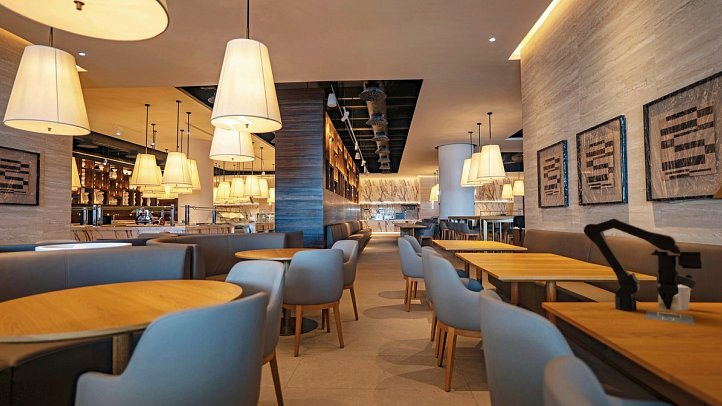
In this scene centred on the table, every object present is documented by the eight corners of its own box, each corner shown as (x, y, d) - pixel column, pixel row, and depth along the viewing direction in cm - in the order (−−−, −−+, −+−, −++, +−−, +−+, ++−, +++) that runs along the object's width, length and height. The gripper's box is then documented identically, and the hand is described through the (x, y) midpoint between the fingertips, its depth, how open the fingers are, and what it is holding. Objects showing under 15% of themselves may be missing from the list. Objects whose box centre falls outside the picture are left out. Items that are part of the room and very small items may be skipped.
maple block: (658, 309, 144) (658, 296, 144) (659, 306, 149) (658, 294, 149) (679, 312, 140) (678, 299, 140) (678, 309, 145) (678, 296, 145)
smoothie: (690, 308, 158) (689, 275, 158) (694, 311, 152) (692, 277, 153) (671, 306, 161) (669, 274, 162) (674, 309, 156) (672, 276, 156)
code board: (645, 320, 140) (645, 318, 140) (647, 312, 152) (646, 310, 152) (694, 327, 131) (694, 324, 131) (692, 318, 143) (692, 316, 143)
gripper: (696, 272, 133) (697, 315, 132) (693, 266, 147) (694, 306, 146) (656, 269, 140) (657, 311, 139) (657, 264, 154) (658, 302, 154)
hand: (668, 307), depth 144 cm, fingers closed on maple block, 6 cm apart
